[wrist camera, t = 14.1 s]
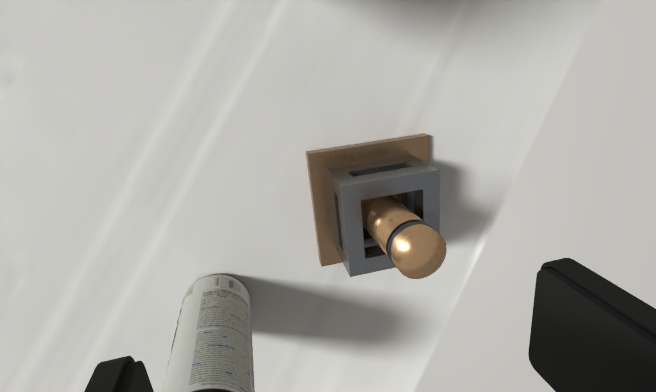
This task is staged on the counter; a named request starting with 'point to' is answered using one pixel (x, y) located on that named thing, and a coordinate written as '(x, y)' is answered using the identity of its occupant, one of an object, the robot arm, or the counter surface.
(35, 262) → the counter surface
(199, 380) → the spray can
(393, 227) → the copper tube
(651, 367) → the robot arm
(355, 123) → the counter surface
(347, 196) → the collar stand
